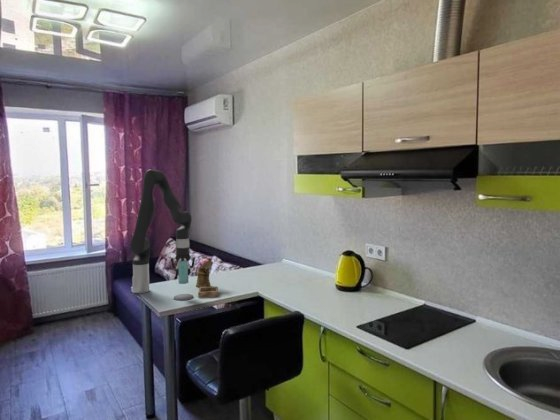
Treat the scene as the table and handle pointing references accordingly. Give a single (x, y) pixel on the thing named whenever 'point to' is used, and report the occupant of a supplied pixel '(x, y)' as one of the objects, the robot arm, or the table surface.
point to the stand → (208, 292)
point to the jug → (183, 272)
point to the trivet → (183, 297)
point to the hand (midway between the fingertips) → (183, 274)
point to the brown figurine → (204, 275)
